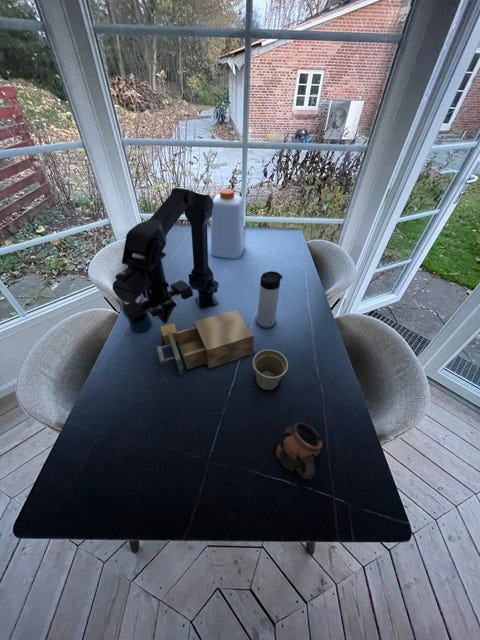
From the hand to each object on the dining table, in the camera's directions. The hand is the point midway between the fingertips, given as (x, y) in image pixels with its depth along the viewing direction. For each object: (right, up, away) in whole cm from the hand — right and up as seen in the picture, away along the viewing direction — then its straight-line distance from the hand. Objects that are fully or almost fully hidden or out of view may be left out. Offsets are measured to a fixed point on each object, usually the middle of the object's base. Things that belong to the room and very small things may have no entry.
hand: (164, 322), depth 78 cm
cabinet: (+17, -8, +8) cm, 20 cm away
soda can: (-12, -1, +14) cm, 19 cm away
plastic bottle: (+16, +35, +53) cm, 65 cm away
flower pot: (+30, -17, -1) cm, 35 cm away
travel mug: (+31, 0, +17) cm, 36 cm away
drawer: (+7, -10, +4) cm, 13 cm away
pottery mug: (+36, -31, -16) cm, 50 cm away
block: (-1, -5, +10) cm, 11 cm away
